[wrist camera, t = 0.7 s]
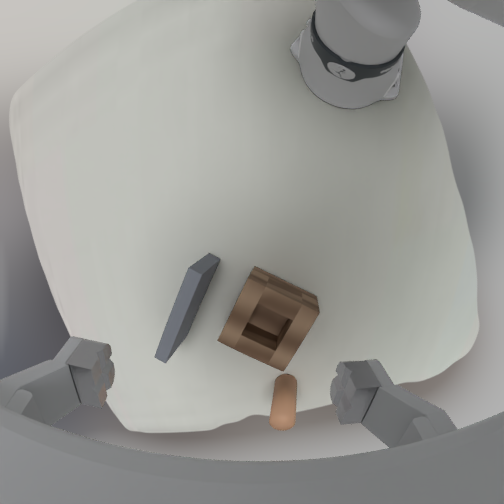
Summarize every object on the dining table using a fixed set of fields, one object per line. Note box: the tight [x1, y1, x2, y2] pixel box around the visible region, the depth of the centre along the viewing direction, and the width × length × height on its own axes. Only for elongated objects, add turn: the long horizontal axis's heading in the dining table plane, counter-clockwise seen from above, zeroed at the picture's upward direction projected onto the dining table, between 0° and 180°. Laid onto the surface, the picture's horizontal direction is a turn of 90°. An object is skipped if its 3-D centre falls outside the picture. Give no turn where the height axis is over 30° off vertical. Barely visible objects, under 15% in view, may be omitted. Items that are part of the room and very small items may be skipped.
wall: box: [155, 253, 220, 363], centre depth 46 cm, size 16×2×10 cm, turn 155°
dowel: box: [269, 374, 297, 430], centre depth 47 cm, size 4×4×11 cm
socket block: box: [218, 267, 320, 371], centre depth 46 cm, size 11×11×7 cm
